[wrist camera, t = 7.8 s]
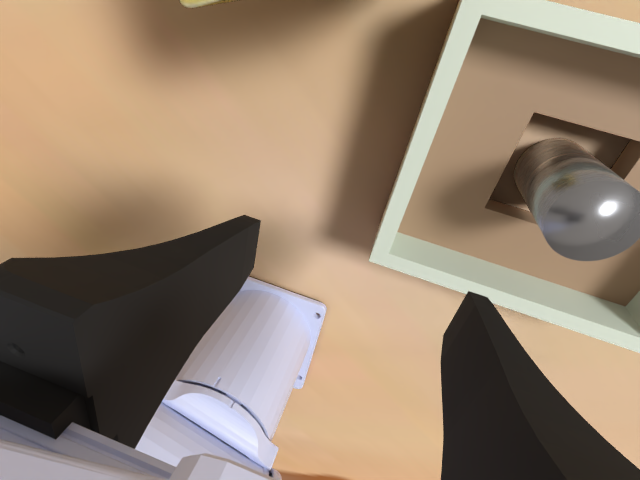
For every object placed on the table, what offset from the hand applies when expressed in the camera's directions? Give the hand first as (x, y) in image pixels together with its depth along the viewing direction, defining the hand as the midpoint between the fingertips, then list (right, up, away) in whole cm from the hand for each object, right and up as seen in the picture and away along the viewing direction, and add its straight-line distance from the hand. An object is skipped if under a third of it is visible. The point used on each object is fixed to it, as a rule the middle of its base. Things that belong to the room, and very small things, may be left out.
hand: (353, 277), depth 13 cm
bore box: (+10, +5, +6) cm, 13 cm away
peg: (+10, +5, +6) cm, 13 cm away
